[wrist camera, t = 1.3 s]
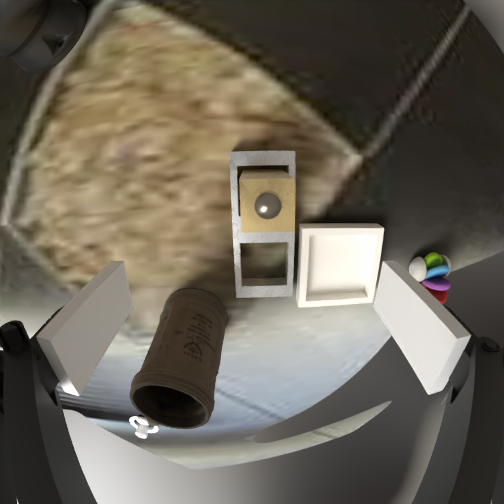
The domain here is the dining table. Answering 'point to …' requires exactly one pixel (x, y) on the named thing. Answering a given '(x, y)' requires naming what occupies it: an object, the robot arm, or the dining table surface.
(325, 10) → the dining table surface
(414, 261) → the rainbow petal fan toy
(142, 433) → the white valve handwheel
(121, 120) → the dining table surface
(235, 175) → the gray rectangular frame
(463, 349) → the robot arm
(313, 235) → the parts tray
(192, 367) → the beer stein
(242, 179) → the tan knobbed block
